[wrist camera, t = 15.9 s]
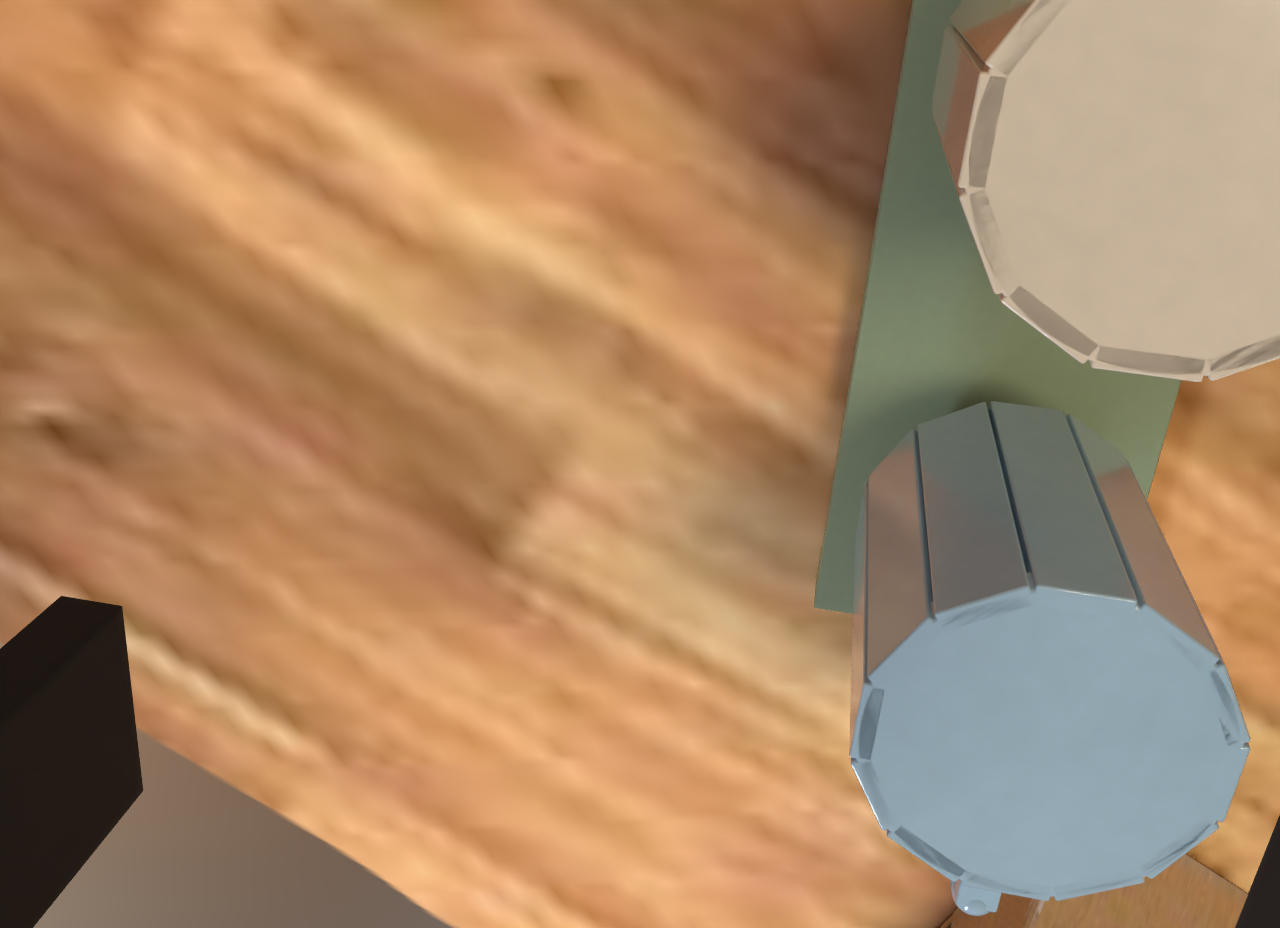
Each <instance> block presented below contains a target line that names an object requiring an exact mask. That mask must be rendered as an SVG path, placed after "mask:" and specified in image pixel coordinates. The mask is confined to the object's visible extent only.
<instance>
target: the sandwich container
mask: <svg viewBox="0 0 1280 928" xmlns="http://www.w3.org/2000/svg"><path fill="white" fill-rule="evenodd" d="M1144 879H1145V881H1144V883H1141V884H1136V885H1131V886H1126V887H1122V888H1117V889H1112V890H1108V891H1103V892H1098V893H1094V894H1089V895H1084V896H1080V897H1075V898H1070V899H1065V900H1061V901H1056V900H1055V898H1054V897H1050V899H1049V901H1043V900H1038V899H1032V898H1027V897H1022V896H1016V895H1011V894H1005V893H1002V894H1001V898H1000V902H999V905H998V909H997V911H996V912H989V913H987V914H985V915H983V916H972V915H968V914H966V913H964V912H963V911H961V910H960V909H959V908H957V909H956V910H955V911H954V912H953V915H952V916H951V917H950V918H949V919H948V920H947V921H946V922H945V923H944V924H943V925H942V926H941V927H940V928H1235V926H1236V924H1237V921H1238V919H1239V916H1240V914H1241V911H1242V909H1243V906H1244V904H1245V901H1246V899H1247V896H1248V894H1247V893H1246V892H1244V891H1242V890H1241V889H1239V888H1238V887H1236V886H1235V885H1233V884H1231V883H1230V882H1228V881H1227V880H1225V879H1224V878H1222V877H1221V876H1219V875H1217V874H1216V873H1214V872H1213V871H1211V870H1210V869H1208V868H1206V867H1205V866H1203V865H1202V864H1200V863H1199V862H1197V861H1195V860H1194V859H1192V858H1191V857H1189V856H1188V855H1186V854H1184V855H1183V856H1182V857H1181V858H1179V859H1178V860H1177V861H1175V862H1174V863H1173V864H1171V865H1170V866H1169V867H1167V868H1166V869H1165V870H1164V871H1162V872H1161V873H1160V874H1158V875H1157V876H1156V877H1154V878H1153V879H1150V878H1149V877H1147V876H1146V877H1144Z"/></svg>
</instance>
